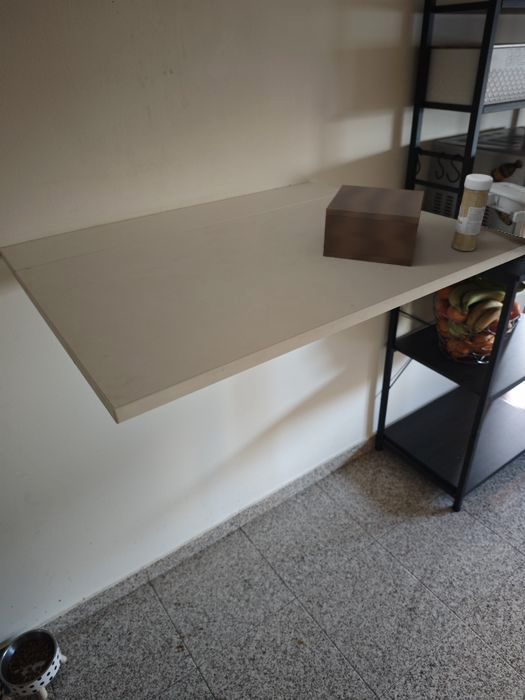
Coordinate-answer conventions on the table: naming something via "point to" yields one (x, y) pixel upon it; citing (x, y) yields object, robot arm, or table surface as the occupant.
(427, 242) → the table surface
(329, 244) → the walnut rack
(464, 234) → the sprinkles bottle
